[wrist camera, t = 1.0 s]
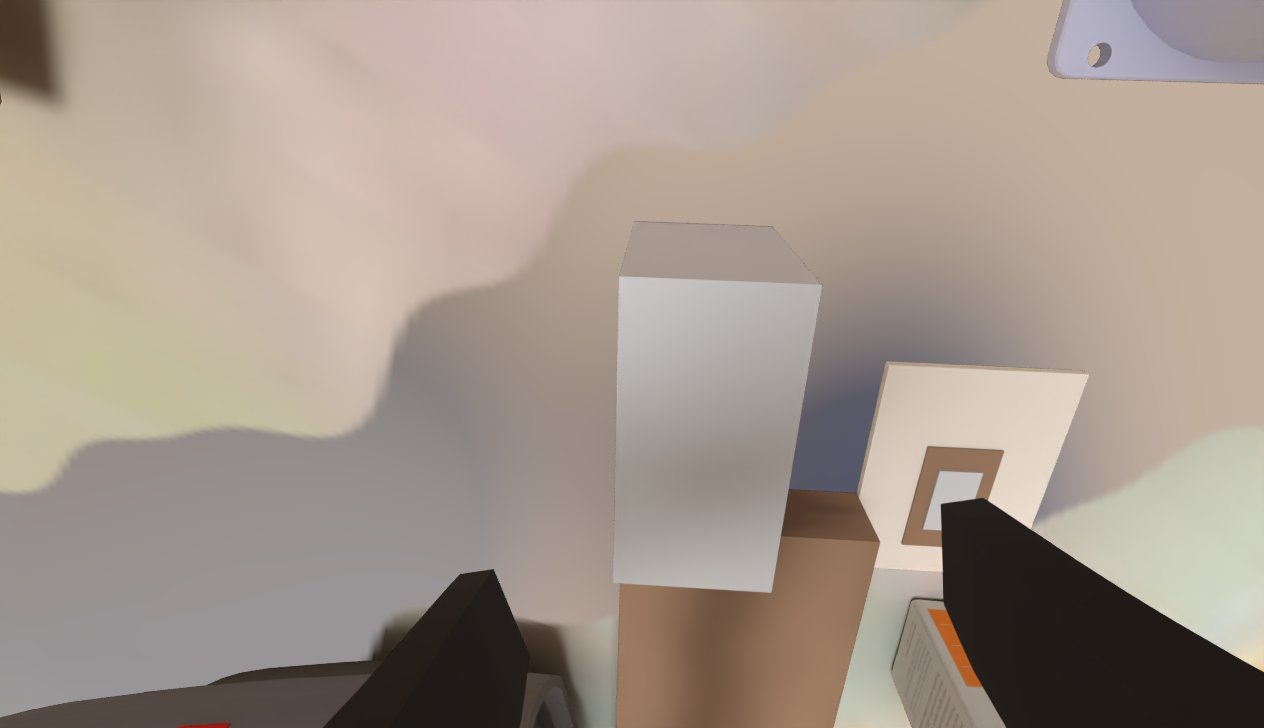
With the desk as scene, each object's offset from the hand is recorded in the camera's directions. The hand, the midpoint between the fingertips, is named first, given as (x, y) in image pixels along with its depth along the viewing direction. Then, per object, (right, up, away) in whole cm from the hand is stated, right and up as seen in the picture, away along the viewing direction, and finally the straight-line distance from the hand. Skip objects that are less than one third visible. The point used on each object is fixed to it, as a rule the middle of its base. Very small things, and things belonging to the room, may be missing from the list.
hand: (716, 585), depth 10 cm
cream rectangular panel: (+9, 0, +10) cm, 14 cm away
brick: (+1, +4, +9) cm, 10 cm away
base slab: (+2, -7, +14) cm, 16 cm away
